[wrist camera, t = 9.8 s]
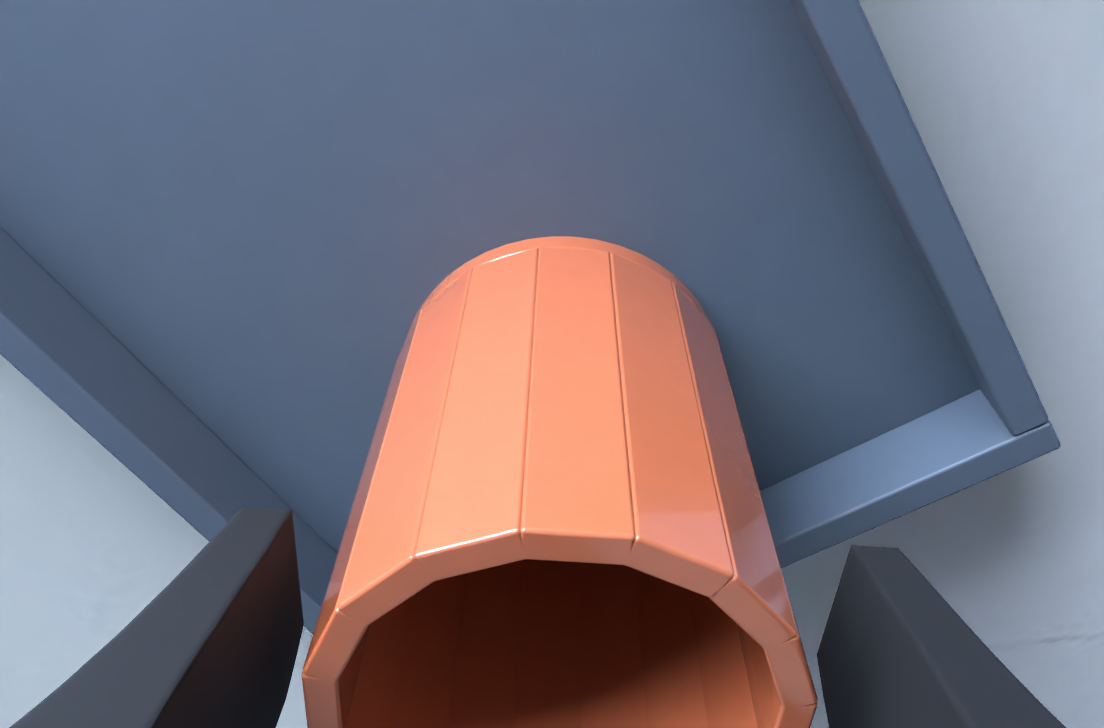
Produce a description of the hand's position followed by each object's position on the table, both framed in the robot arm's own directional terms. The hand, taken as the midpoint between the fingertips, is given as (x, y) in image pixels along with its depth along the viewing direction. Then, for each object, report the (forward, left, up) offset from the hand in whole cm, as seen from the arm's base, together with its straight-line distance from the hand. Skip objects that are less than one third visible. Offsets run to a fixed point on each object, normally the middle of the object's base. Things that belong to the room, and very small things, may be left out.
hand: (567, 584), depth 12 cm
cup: (0, 0, -5) cm, 5 cm away
